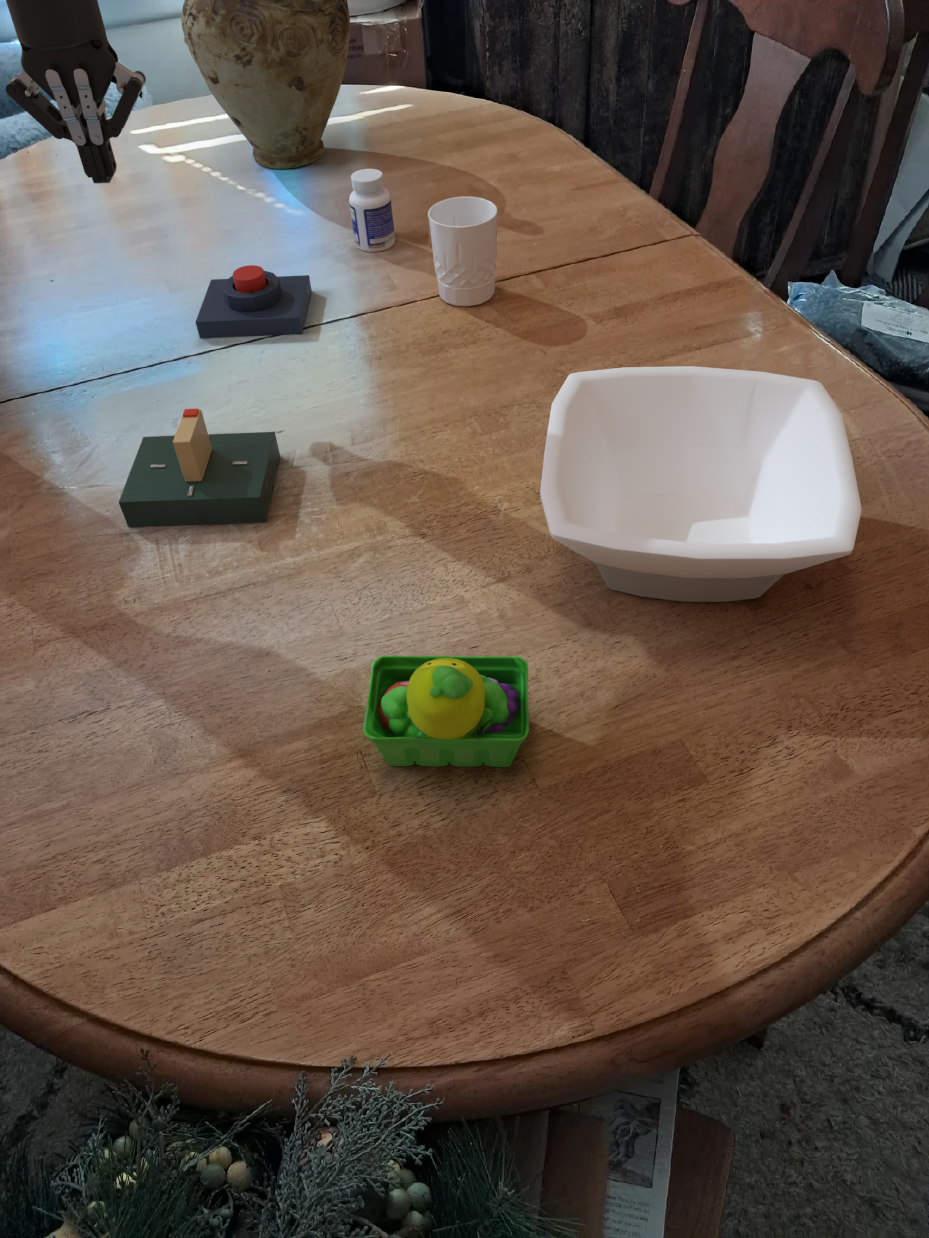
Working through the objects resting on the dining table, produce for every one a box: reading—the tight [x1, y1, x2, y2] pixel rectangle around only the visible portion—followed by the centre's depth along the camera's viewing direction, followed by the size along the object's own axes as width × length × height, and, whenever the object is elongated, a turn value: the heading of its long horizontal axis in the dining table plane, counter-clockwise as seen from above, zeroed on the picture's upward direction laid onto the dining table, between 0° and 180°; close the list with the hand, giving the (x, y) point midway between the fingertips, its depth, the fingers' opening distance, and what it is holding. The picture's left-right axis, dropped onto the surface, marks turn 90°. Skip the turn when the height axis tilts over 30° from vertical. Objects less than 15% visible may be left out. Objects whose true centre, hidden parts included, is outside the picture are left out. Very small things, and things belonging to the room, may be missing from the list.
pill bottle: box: [348, 168, 396, 253], centre depth 126 cm, size 5×5×9 cm
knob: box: [173, 408, 212, 482], centre depth 91 cm, size 5×2×5 cm, turn 179°
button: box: [232, 264, 267, 293], centre depth 115 cm, size 4×4×2 cm
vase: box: [180, 0, 351, 170], centre depth 140 cm, size 23×23×30 cm
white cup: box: [427, 195, 498, 307], centre depth 116 cm, size 8×8×10 cm
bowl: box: [539, 365, 863, 603], centre depth 83 cm, size 24×25×10 cm
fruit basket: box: [362, 655, 530, 768], centre depth 69 cm, size 11×9×11 cm
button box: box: [195, 270, 313, 340], centre depth 117 cm, size 12×10×4 cm
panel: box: [118, 431, 281, 528], centre depth 94 cm, size 13×10×3 cm
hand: (104, 180), depth 98 cm, fingers closed
